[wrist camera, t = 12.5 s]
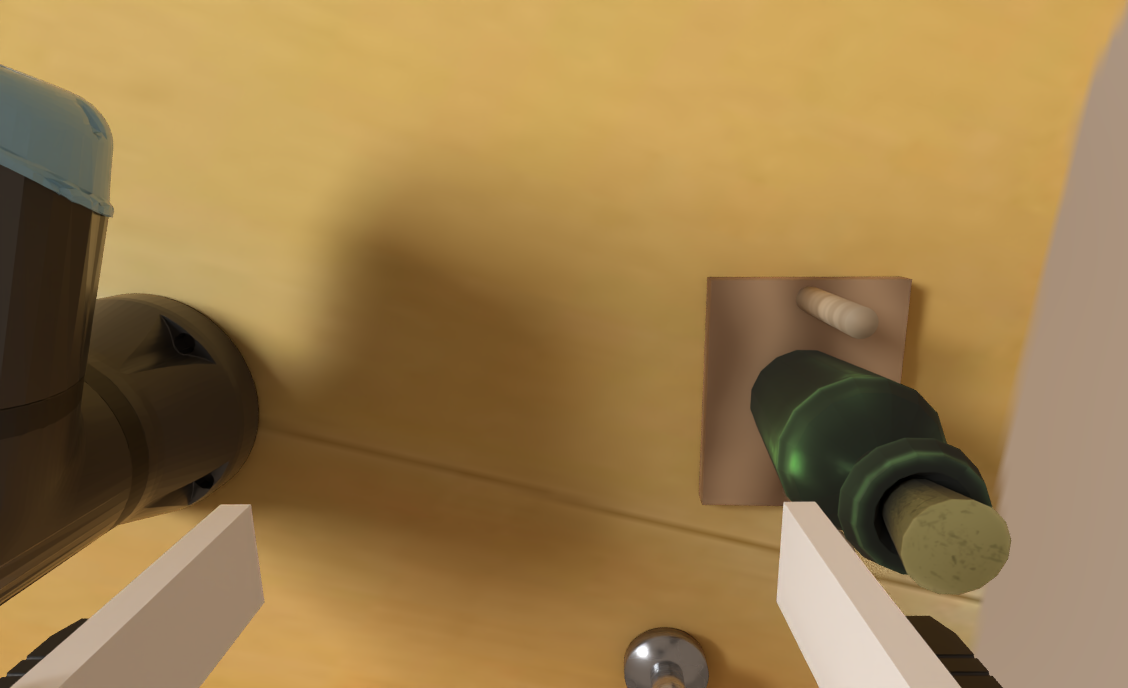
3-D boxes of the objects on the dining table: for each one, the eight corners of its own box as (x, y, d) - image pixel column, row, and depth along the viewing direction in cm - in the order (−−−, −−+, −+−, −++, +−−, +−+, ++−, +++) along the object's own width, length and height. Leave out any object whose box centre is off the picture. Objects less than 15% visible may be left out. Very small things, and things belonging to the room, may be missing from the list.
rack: (698, 494, 44) (725, 572, 35) (707, 277, 41) (739, 299, 31) (877, 497, 43) (953, 577, 34) (900, 276, 40) (991, 298, 31)
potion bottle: (710, 413, 41) (793, 570, 23) (790, 310, 39) (944, 397, 22) (811, 481, 42) (965, 683, 24) (893, 382, 40) (1125, 523, 22)
